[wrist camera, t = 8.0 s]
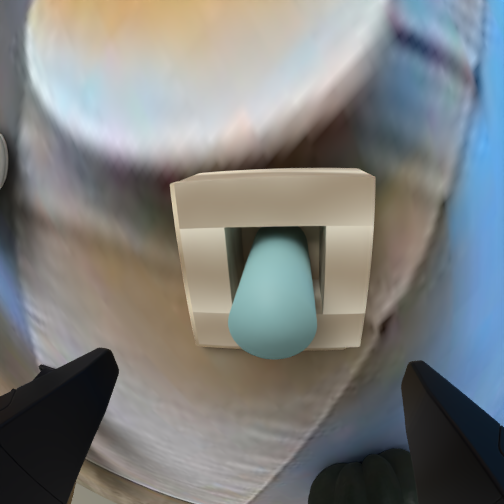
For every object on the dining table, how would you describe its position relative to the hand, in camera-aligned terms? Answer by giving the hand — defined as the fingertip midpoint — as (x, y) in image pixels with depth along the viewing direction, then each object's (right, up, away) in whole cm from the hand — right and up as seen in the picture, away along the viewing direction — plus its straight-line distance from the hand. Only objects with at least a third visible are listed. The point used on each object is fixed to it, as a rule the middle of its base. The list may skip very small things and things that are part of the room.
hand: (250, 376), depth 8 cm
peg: (+2, +4, +10) cm, 11 cm away
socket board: (+1, +3, +12) cm, 12 cm away
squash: (+15, -23, +20) cm, 33 cm away
